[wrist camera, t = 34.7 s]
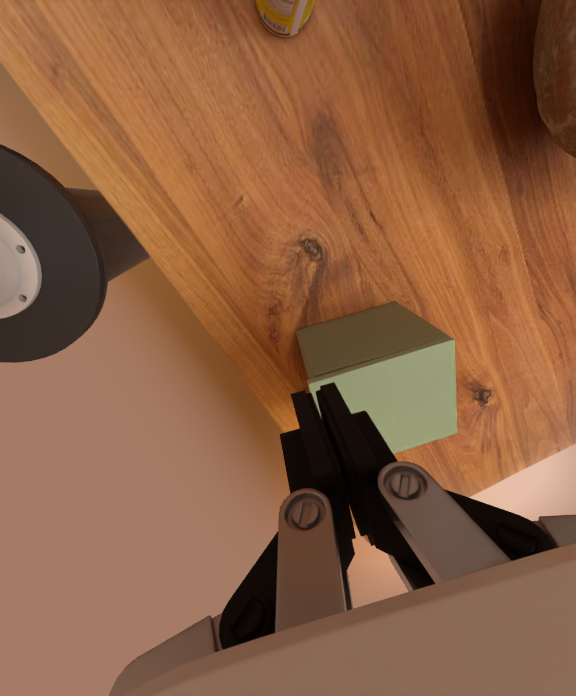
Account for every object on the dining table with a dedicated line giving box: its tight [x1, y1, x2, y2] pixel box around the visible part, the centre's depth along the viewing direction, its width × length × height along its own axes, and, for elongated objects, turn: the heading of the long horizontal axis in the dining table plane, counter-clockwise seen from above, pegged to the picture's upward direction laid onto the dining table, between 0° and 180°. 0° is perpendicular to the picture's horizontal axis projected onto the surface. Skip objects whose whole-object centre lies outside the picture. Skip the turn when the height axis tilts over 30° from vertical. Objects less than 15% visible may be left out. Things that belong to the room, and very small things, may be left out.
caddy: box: [296, 302, 449, 380], centre depth 41 cm, size 15×13×13 cm
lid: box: [307, 336, 457, 454], centre depth 35 cm, size 16×13×1 cm
